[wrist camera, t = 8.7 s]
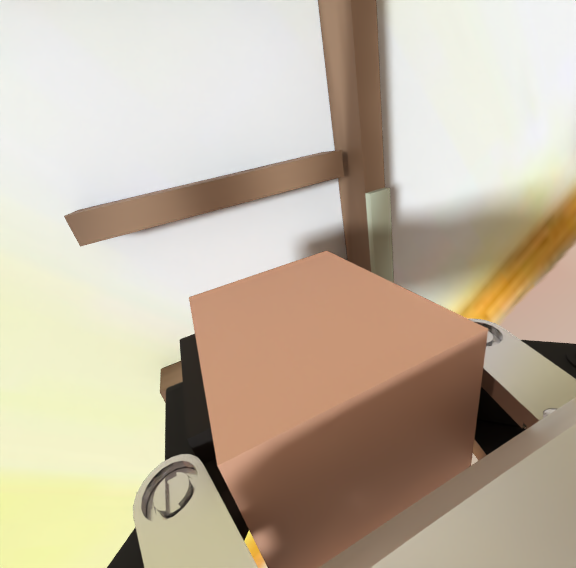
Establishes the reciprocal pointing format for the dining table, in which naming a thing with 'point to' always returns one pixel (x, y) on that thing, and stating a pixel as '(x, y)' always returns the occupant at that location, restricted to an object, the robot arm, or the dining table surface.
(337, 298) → the block
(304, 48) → the dining table surface
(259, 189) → the comb rack
